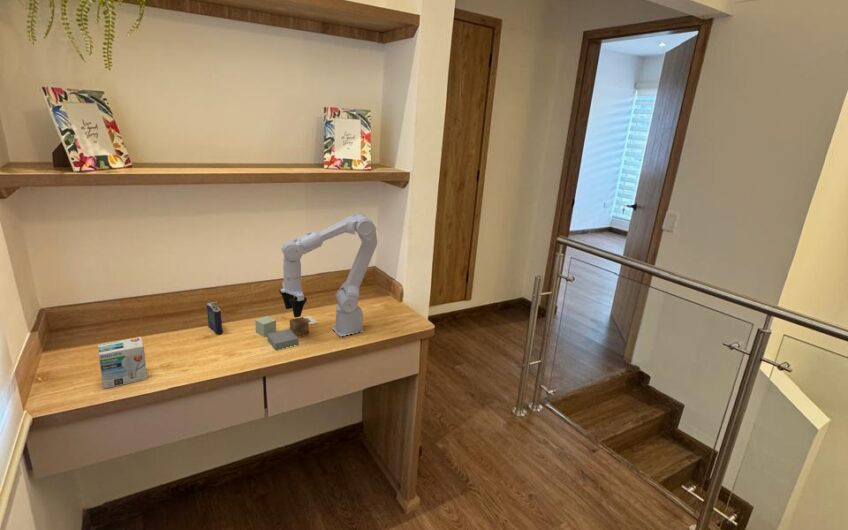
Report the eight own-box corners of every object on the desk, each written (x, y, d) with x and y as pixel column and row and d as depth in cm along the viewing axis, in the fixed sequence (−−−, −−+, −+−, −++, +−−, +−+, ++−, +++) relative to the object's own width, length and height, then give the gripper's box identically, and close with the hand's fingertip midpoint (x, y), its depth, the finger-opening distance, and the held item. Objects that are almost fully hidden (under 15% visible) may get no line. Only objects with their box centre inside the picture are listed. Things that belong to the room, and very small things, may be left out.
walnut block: (303, 329, 167) (303, 317, 165) (308, 334, 163) (308, 322, 161) (290, 332, 164) (289, 319, 162) (295, 338, 160) (295, 325, 158)
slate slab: (289, 336, 161) (289, 328, 160) (298, 346, 155) (298, 338, 154) (267, 341, 157) (267, 333, 156) (275, 351, 151) (275, 343, 150)
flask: (207, 325, 163) (205, 298, 160) (215, 323, 165) (213, 296, 162) (216, 335, 157) (214, 307, 153) (225, 333, 159) (223, 305, 155)
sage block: (268, 328, 165) (267, 315, 164) (276, 332, 162) (275, 320, 161) (255, 332, 161) (255, 319, 160) (263, 337, 159) (263, 324, 157)
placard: (309, 316, 177) (309, 315, 177) (317, 323, 172) (317, 322, 172) (292, 319, 173) (292, 318, 173) (299, 327, 168) (299, 325, 168)
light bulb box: (103, 389, 124) (97, 355, 120) (102, 377, 129) (96, 344, 125) (148, 379, 130) (144, 346, 127) (145, 368, 135) (141, 336, 132)
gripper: (273, 271, 156) (274, 307, 161) (289, 285, 146) (290, 323, 150) (292, 268, 160) (293, 303, 165) (309, 281, 150) (310, 318, 154)
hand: (293, 312), depth 158 cm, fingers open, 7 cm apart
